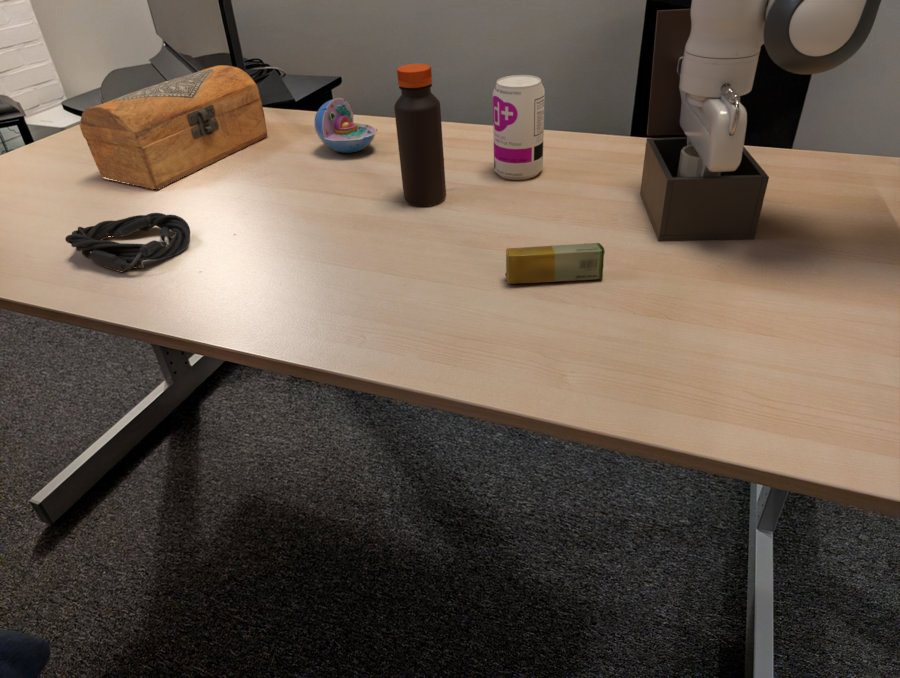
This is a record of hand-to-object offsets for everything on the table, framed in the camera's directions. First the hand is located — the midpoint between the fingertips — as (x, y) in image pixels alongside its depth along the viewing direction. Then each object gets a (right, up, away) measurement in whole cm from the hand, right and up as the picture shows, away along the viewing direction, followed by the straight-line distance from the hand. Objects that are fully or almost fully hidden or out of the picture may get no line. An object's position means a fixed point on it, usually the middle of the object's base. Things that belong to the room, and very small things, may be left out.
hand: (698, 177), depth 91 cm
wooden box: (-85, +13, +36) cm, 93 cm away
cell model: (-54, +13, +34) cm, 65 cm away
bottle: (-39, 0, +14) cm, 41 cm away
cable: (-82, -9, +5) cm, 82 cm away
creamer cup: (0, -2, +1) cm, 2 cm away
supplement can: (-23, +6, +20) cm, 31 cm away
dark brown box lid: (0, +15, 0) cm, 15 cm away
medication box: (-22, -15, -9) cm, 28 cm away
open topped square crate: (0, -5, +3) cm, 6 cm away
